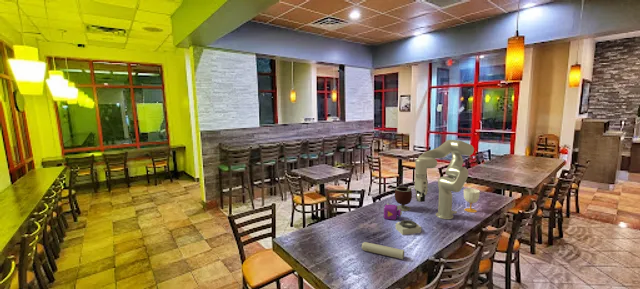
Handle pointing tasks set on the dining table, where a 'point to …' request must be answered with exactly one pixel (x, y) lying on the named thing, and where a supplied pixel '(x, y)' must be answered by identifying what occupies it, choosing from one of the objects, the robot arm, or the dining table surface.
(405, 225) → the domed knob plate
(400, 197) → the mate gourd
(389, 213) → the toy camera
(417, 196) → the lens
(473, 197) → the cup
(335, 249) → the dining table surface
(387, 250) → the tube
